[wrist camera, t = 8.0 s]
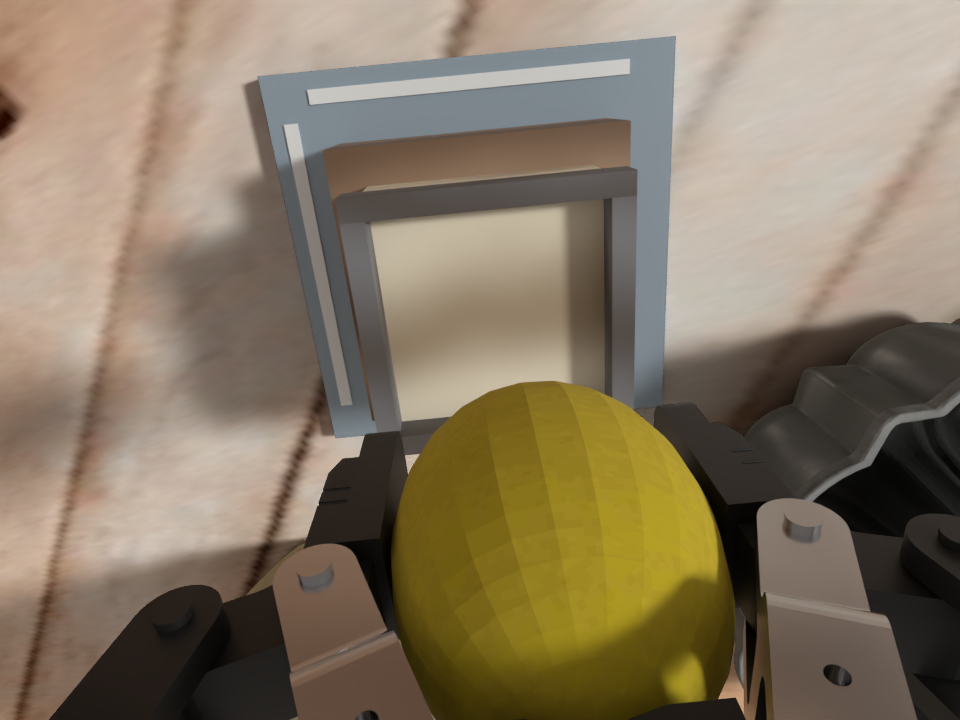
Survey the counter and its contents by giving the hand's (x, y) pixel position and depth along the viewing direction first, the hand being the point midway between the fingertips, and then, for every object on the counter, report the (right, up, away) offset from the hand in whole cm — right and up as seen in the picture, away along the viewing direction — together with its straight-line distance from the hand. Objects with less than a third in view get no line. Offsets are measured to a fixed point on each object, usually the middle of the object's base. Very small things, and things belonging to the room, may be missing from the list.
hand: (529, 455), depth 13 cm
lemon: (0, 0, +1) cm, 1 cm away
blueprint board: (-1, +7, +17) cm, 18 cm away
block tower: (-1, +7, +17) cm, 18 cm away
